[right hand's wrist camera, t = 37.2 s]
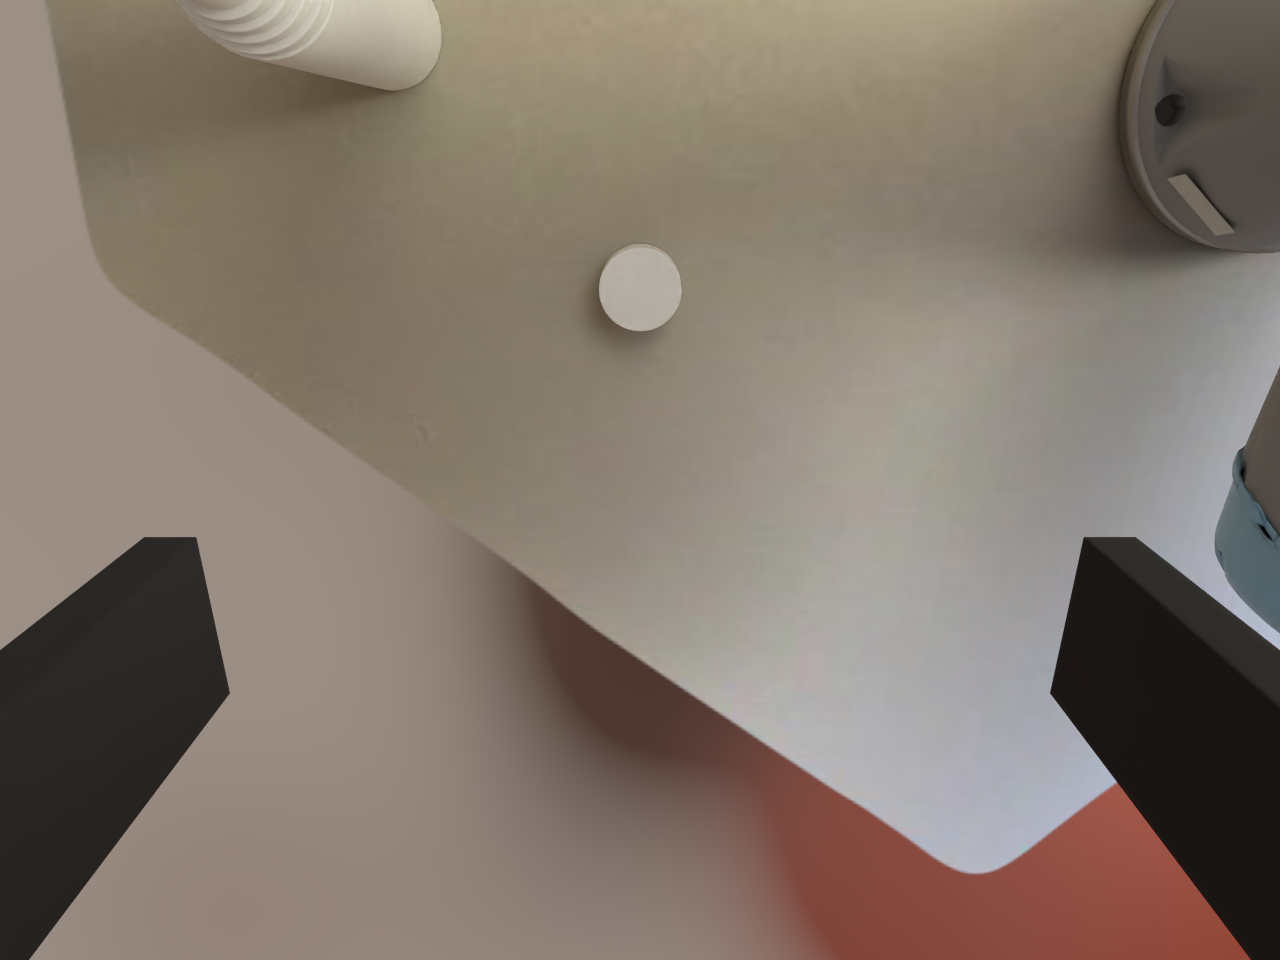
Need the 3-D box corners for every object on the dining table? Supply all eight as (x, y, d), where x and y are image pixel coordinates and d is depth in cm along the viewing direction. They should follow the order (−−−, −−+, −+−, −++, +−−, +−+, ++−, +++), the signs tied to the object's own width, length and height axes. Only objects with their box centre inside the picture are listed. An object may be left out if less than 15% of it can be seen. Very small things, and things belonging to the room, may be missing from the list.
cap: (659, 229, 43) (660, 232, 41) (692, 303, 44) (695, 310, 42) (586, 265, 43) (584, 269, 42) (621, 337, 45) (620, 344, 43)
